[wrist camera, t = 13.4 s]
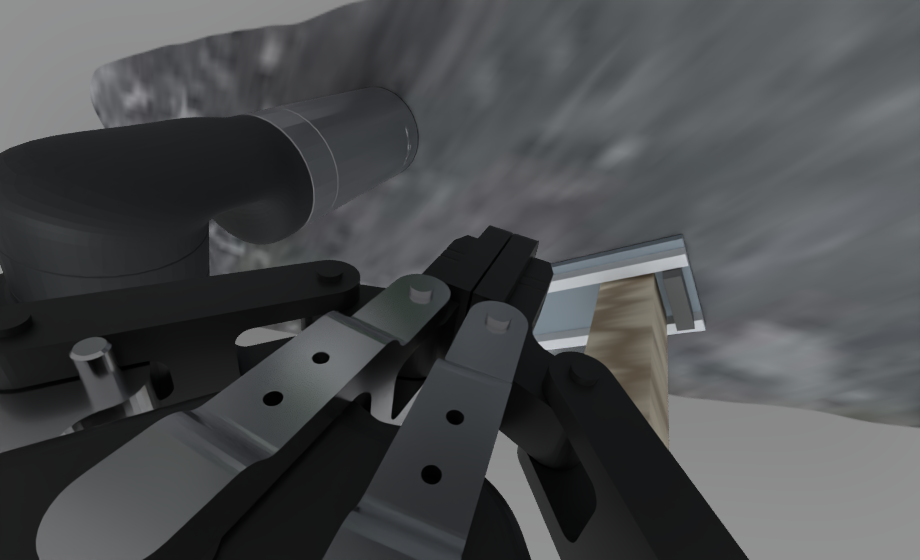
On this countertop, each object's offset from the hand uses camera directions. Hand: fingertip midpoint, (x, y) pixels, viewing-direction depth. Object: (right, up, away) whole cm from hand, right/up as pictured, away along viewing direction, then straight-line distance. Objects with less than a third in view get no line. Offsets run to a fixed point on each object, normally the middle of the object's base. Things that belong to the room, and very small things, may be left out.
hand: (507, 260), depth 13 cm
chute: (+12, -3, +34) cm, 37 cm away
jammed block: (+16, -2, +31) cm, 35 cm away
